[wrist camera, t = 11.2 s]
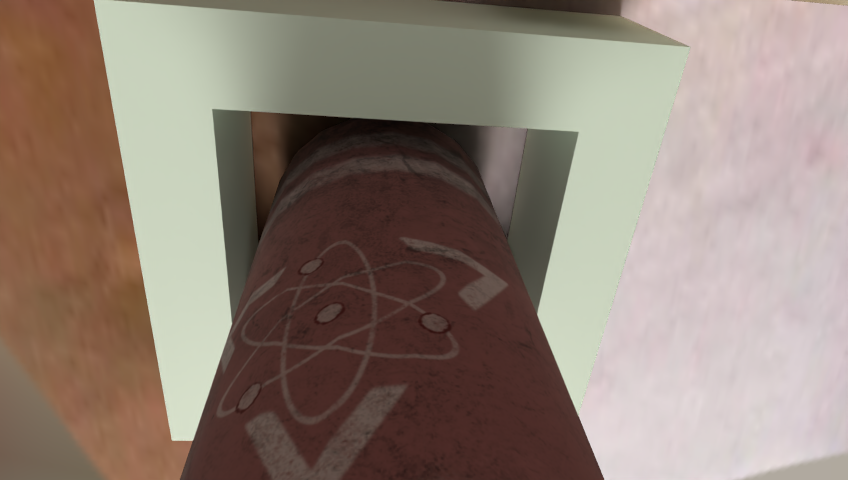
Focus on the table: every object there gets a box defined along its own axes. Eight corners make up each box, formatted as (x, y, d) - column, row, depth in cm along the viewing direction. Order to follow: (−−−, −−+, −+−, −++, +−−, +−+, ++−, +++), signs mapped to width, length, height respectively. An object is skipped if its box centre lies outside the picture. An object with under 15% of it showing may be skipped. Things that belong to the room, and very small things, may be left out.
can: (239, 244, 18) (-57, 996, 5) (346, 65, 15) (248, 688, 3) (406, 326, 20) (463, 1006, 7) (524, 179, 17) (887, 825, 5)
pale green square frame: (621, 16, 16) (690, 46, 12) (538, 355, 22) (570, 441, 18) (160, -24, 14) (93, -2, 11) (206, 349, 20) (171, 440, 17)
